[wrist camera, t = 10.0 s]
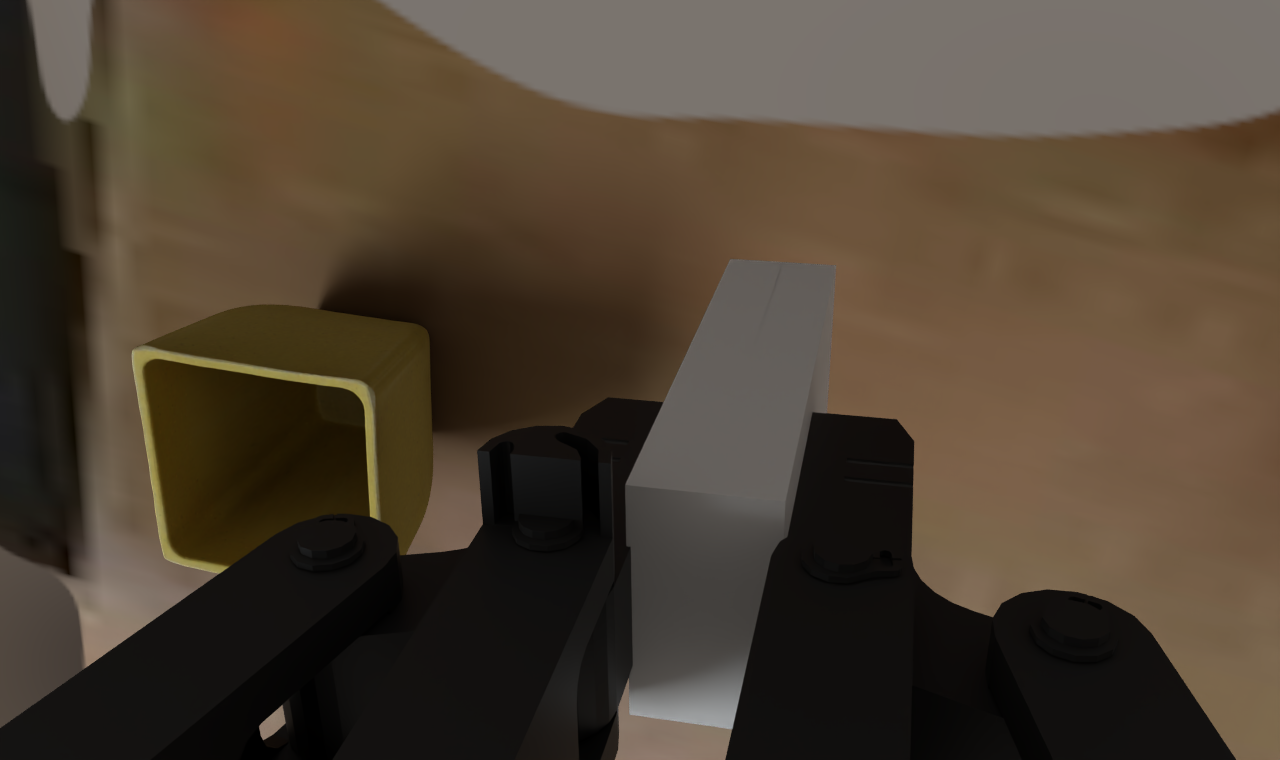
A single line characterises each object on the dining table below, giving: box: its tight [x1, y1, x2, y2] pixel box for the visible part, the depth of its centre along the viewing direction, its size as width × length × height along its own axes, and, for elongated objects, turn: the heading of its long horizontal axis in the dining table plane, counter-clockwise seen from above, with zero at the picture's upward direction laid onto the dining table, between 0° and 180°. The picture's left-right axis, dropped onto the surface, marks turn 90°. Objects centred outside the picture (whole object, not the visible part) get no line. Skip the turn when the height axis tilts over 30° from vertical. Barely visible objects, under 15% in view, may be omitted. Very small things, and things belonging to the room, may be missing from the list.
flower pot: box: [132, 305, 433, 574], centre depth 44 cm, size 9×9×9 cm
